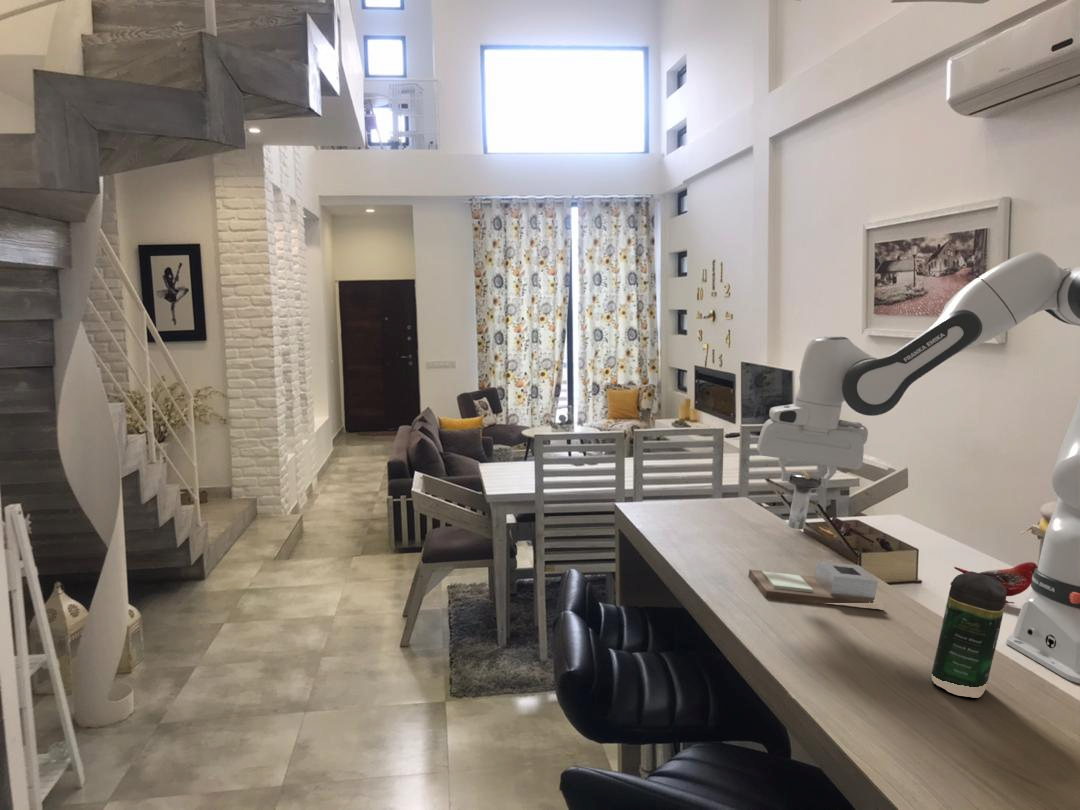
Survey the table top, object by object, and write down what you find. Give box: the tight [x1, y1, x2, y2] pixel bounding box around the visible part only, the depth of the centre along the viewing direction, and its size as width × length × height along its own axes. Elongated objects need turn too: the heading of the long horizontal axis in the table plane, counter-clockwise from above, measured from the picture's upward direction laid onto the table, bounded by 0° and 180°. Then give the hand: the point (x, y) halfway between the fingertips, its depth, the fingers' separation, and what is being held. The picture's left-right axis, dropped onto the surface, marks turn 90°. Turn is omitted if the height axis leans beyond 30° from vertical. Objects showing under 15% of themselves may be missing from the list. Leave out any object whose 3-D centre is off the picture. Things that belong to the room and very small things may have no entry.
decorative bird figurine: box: [953, 561, 1038, 605], centre depth 174 cm, size 3×18×10 cm, turn 81°
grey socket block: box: [813, 560, 879, 600], centre depth 165 cm, size 9×9×4 cm
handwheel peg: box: [787, 470, 821, 530], centre depth 163 cm, size 6×6×11 cm
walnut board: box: [748, 569, 874, 604], centre depth 165 cm, size 12×24×2 cm, turn 92°
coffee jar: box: [931, 571, 1007, 687], centre depth 128 cm, size 10×8×19 cm
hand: (803, 483), depth 162 cm, fingers closed on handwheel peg, 6 cm apart
